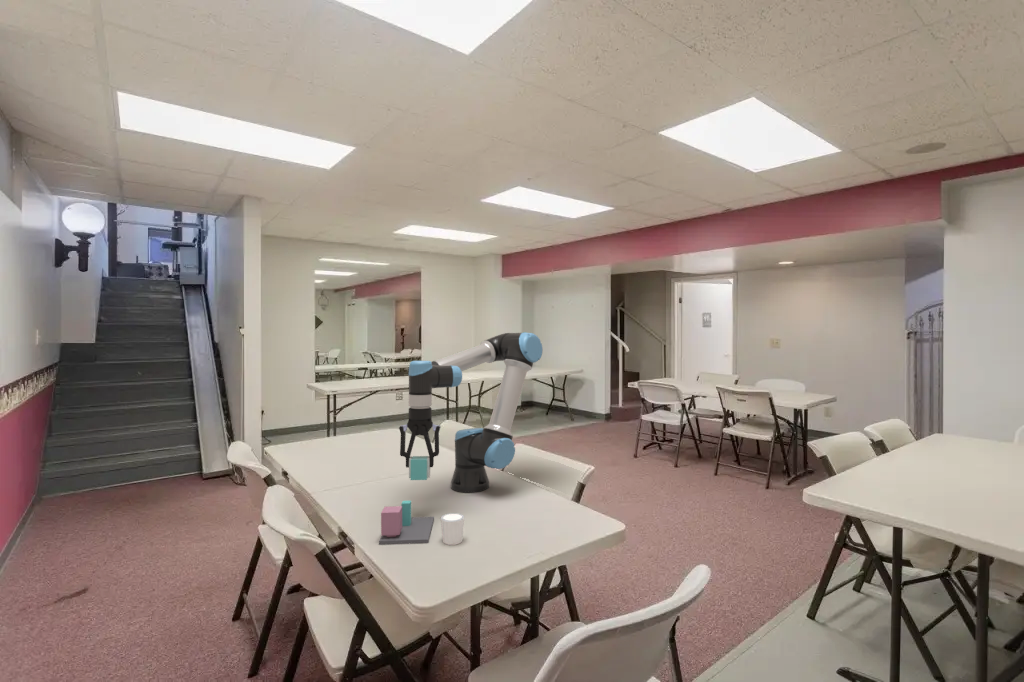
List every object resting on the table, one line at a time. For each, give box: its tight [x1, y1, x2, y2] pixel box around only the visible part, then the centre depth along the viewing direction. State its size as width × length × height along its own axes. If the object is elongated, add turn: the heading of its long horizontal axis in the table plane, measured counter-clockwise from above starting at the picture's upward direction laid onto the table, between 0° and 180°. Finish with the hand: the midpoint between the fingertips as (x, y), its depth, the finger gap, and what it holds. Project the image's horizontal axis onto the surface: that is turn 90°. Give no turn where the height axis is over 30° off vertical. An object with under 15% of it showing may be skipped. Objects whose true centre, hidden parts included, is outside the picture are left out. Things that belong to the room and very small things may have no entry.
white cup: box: [440, 512, 465, 546], centre depth 140 cm, size 7×7×7 cm
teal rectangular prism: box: [410, 455, 429, 481], centre depth 159 cm, size 5×5×7 cm
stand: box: [378, 500, 435, 546], centre depth 147 cm, size 14×18×9 cm
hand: (419, 476), depth 159 cm, fingers closed on teal rectangular prism, 5 cm apart
